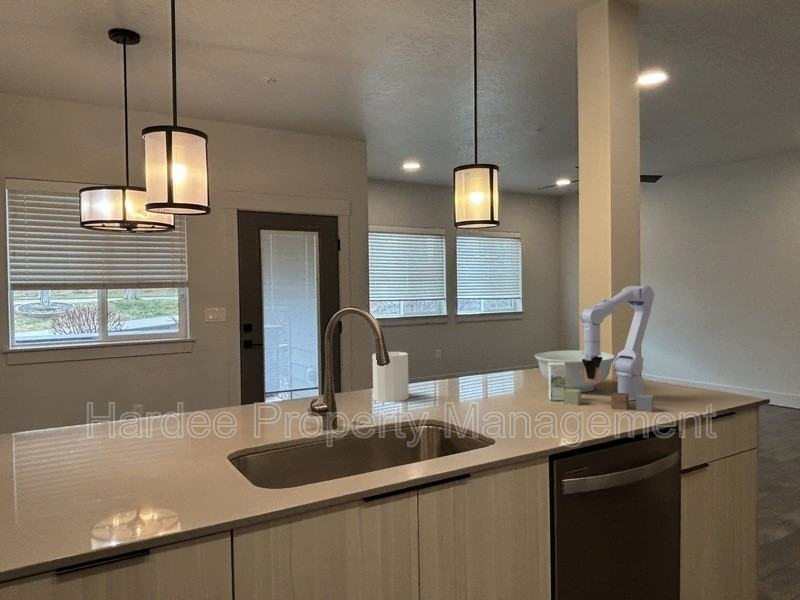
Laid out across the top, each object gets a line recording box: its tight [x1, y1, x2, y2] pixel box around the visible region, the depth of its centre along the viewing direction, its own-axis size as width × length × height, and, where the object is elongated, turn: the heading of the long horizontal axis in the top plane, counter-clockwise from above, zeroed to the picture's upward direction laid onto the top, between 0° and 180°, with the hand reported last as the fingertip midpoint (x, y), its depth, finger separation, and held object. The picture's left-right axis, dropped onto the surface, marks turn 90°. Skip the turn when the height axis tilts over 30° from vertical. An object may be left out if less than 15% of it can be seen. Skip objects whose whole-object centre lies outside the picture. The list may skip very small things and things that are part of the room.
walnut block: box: [610, 391, 630, 411], centre depth 202 cm, size 5×5×5 cm
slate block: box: [635, 394, 654, 413], centre depth 198 cm, size 5×5×5 cm
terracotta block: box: [584, 367, 601, 384], centre depth 209 cm, size 5×5×5 cm
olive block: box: [563, 389, 582, 406], centre depth 210 cm, size 5×5×5 cm
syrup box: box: [547, 362, 566, 402], centre depth 217 cm, size 6×6×14 cm
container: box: [371, 351, 410, 403], centre depth 228 cm, size 14×14×18 cm
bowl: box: [534, 349, 616, 393], centre depth 238 cm, size 32×32×15 cm
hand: (592, 377), depth 209 cm, fingers closed on terracotta block, 5 cm apart
